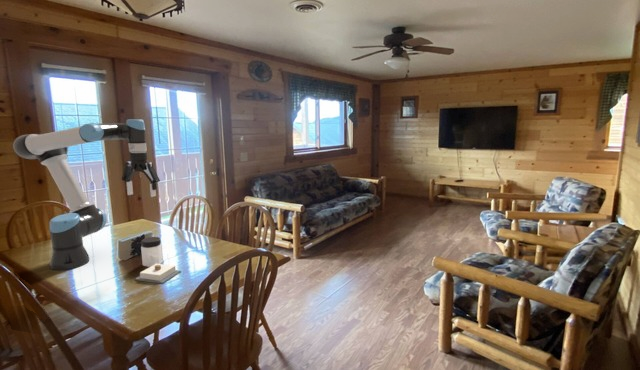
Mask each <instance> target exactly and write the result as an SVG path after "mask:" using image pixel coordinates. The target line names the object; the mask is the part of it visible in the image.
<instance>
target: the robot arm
mask: <svg viewBox="0 0 640 370" xmlns="http://www.w3.org/2000/svg"><path fill="white" fill-rule="evenodd" d="M146 139H147V138H146V125H145V121H144V119H129V118H128V119H126V123H119V122H118V123H115V122H110V123H109V122H108V123H94V122H91V123H85V124H83V125H81V126H75V127H71V128H67V129H61V130H57V131H53V132H47V133H31V134H30V133H29V134H21V135H20V136H18V137H16V138H15V139H14V141H13V144H12V147H13V151H14V153H15V154H17V156H19V157H20V158H23V159H26V160H27V159H28V160H37V159H38V162H40V164H41V165H42V166H45V167H46V168H47V170H48V171H49V173H50V175H51V177H52V179H53V180H54V182H55V184H56V186H57V188H58V190H59V192H60V193H61V195H62V197H63V199H64V200H65V203H66V205H67V206H68V208H69V212H68V213H64V214H59V215H57V216H55V217H52V218H51V219H50V220H49V227H48V228H49V232H50V239H51V246H52V255H51V258H50V262H49V266H50V269H51V270H54V271H55V270H56V271H64V270H70V269H74V268H79V267H81V266H84V265H86V264H87V263H89V261H90V255H89V253H88V252H87V250H86V248H85V246H84V244H83V243H84V242H83V238H84V237H88V236H90V235H92V234H95V233H97V232H99V231H101V230H103V229H104V227H106V223H107V220H108V219H107V215H106V212H105V211H104V210H103V209H101V208H99V207H96V206H95V204H94V203H92V202H90V201H89V199H88V197H87V195H86V194H85V191H84V190H83V188H82V186H81V185H80V183H79V181H78V178H77V177H76V175H75V174H74V171H73V170H72V168H71V166H70V164H69V162H68V161H67V159H68V152H69V147H73V146H78V145H83V144H88V143H93V142H94V143H95V142H100V141H114V140H127V142H128V152H129V161H126V162H125V167H124V170H123V173H122V175H121V180H122V181H124V182H125V188H126V190H127V191H126V192H127V196H131V195H134V189H133V180H132V179H133V177H134V176H135V174H136V173H137V172H139V173H140V172H141V173H143V175H145V177H146V178H147V179H148V181H149V182H150V183H149V191H150V192H149V193H150V197H151V198H153V197H157V192H156V191H157V183H160V181H161V180H160V177H159V175H158V174H157V172H156V169H155V167H154V163H153V162H152V161H151V162H147V160H148V153H147V150H148V149H147V148H148V147H147V141H146Z"/></svg>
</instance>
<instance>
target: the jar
mask: <svg viewBox="0 0 640 370" xmlns="http://www.w3.org/2000/svg"><path fill="white" fill-rule="evenodd" d="M140 241H141V246H140V250H141V252H140V253H141V261H142V266H143V267H147V268H149V267H151V266H153V265H155V264H163V262H164V255H163V254H164V253H163V243H162V240H161V237H158V236H151V237H145V238H143V239H142V240H140Z"/></svg>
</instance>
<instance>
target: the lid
mask: <svg viewBox="0 0 640 370" xmlns="http://www.w3.org/2000/svg"><path fill="white" fill-rule="evenodd" d="M176 270H177V269H176V265H170V264H163V263H161V264H155V265H153V266H151V267H147V268H145V269H144V270H142V271H140V272H139V276H140V278H143V279H151V280H158V281H161V280H162V279H164V278H166V277H167V276H169V275H170V274H172V273H173V272H175V271H176Z"/></svg>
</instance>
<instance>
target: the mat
mask: <svg viewBox="0 0 640 370" xmlns="http://www.w3.org/2000/svg"><path fill="white" fill-rule="evenodd" d="M180 273H182V270H178V269H176V271H175V272H173V273H172V274H170V275H169V276H167V277H166V278H164V279H162V280H161V281H158V280H151V279H143V278H140V275H139V276H137V277H135V278H134V280H135V281H140V282H147V283H156V284H162V285H163V284H165V283H166V282H168V281H170V280H171V279H173V278H174V277H176V276H177V275H179V274H180Z"/></svg>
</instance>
